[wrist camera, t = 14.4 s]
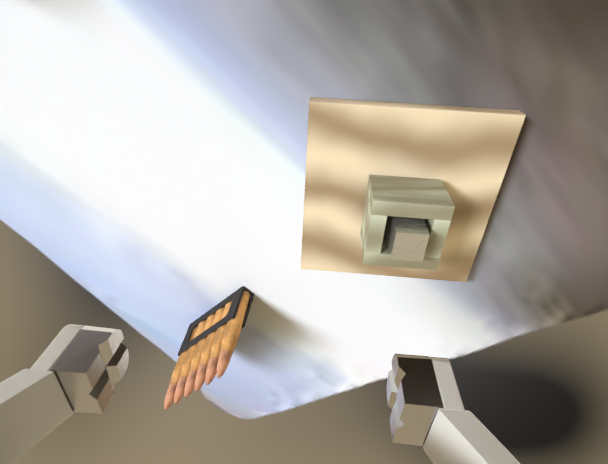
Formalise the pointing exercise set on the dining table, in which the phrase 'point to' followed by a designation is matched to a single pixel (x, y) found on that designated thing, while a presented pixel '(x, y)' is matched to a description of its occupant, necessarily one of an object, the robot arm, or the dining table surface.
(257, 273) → the dining table surface
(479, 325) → the dining table surface
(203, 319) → the ammunition clip
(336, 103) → the shaft board
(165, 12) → the dining table surface
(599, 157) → the dining table surface
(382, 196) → the collar
